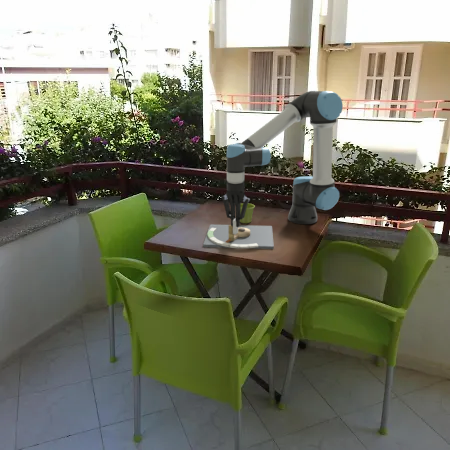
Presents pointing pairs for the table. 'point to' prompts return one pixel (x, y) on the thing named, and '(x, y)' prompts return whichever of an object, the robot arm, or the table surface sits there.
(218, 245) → the scale board
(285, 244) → the table surface
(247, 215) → the plant pot
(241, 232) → the dial
